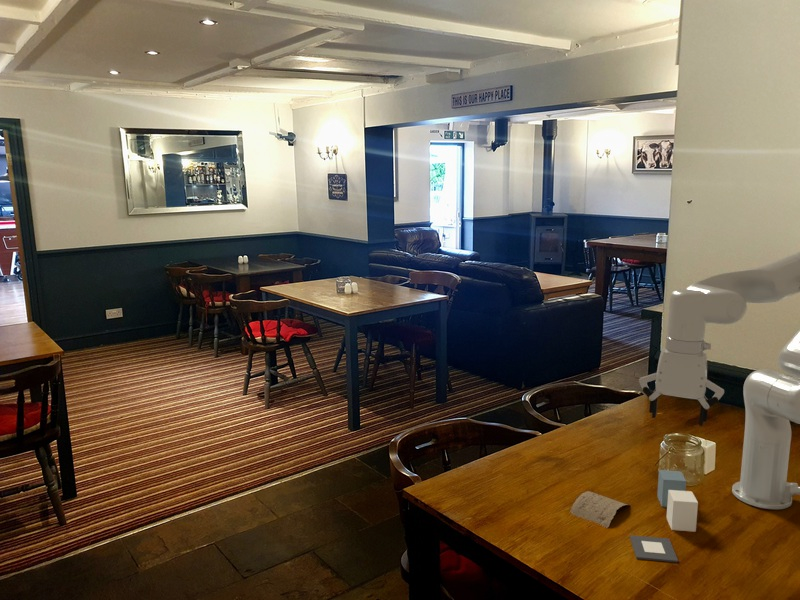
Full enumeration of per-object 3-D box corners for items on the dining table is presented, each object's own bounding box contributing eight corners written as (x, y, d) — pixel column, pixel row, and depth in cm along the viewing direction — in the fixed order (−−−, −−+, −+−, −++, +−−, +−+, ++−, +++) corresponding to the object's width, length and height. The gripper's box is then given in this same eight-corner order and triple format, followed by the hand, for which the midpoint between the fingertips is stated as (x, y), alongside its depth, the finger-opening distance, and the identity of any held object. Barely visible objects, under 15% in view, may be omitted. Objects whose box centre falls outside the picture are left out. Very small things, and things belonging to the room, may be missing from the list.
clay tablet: (607, 532, 138) (608, 520, 137) (565, 516, 144) (566, 506, 144) (632, 506, 148) (633, 496, 148) (592, 493, 155) (592, 483, 155)
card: (668, 540, 133) (669, 538, 133) (678, 562, 125) (678, 560, 125) (629, 537, 135) (629, 534, 135) (636, 558, 127) (636, 556, 127)
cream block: (689, 519, 141) (691, 491, 140) (695, 531, 136) (698, 502, 135) (666, 518, 142) (668, 489, 141) (671, 529, 137) (673, 500, 136)
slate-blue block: (679, 498, 151) (680, 471, 149) (684, 508, 146) (686, 481, 145) (657, 496, 152) (659, 469, 150) (661, 506, 147) (663, 479, 146)
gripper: (728, 347, 135) (720, 421, 138) (644, 337, 143) (638, 408, 146) (728, 355, 129) (720, 433, 132) (640, 344, 136) (634, 418, 139)
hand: (677, 420), depth 139 cm, fingers open, 9 cm apart
